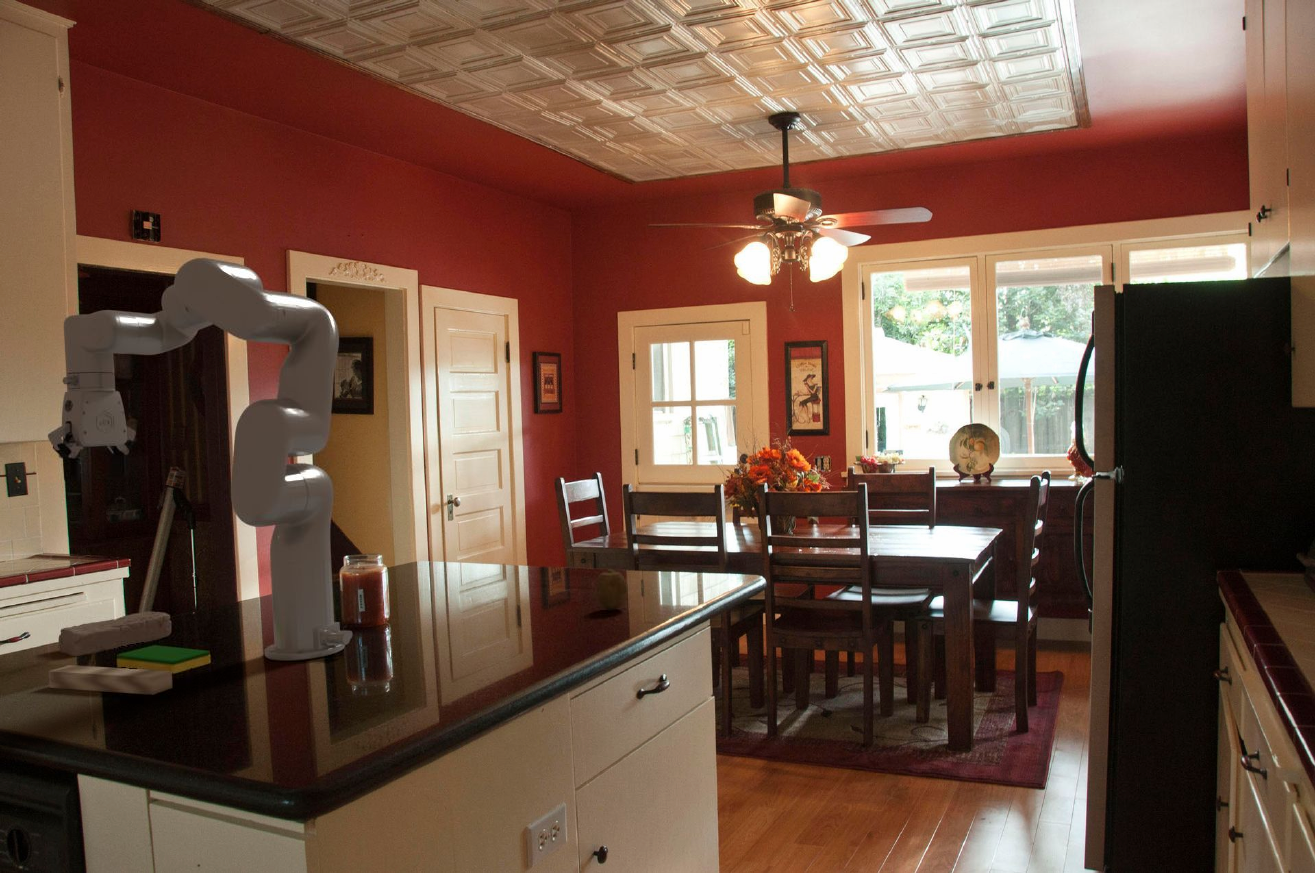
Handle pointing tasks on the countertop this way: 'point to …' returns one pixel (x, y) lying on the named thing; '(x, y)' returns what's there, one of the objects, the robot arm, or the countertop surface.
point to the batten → (110, 679)
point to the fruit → (611, 590)
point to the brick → (114, 633)
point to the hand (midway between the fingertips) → (96, 478)
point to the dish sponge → (163, 658)
